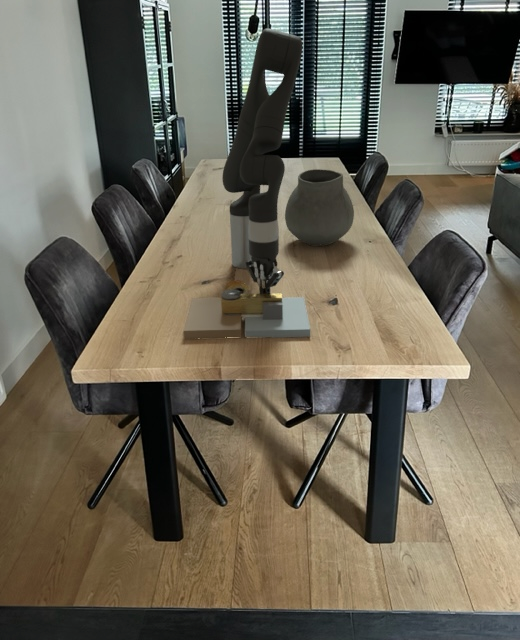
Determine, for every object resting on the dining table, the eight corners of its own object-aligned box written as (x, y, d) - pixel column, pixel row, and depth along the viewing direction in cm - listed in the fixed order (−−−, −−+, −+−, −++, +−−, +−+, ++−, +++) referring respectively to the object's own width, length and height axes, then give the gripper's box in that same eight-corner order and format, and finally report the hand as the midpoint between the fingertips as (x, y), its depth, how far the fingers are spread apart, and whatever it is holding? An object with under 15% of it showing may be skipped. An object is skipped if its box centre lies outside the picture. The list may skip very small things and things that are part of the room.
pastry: (222, 287, 170) (221, 275, 169) (244, 285, 172) (243, 273, 170) (227, 299, 162) (227, 287, 161) (250, 297, 164) (250, 285, 162)
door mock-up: (192, 306, 158) (190, 286, 155) (303, 303, 158) (304, 283, 155) (184, 339, 140) (182, 317, 137) (310, 336, 140) (310, 314, 137)
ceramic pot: (273, 248, 202) (272, 177, 192) (301, 229, 222) (301, 164, 211) (338, 257, 192) (341, 182, 181) (361, 237, 211) (365, 169, 200)
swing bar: (221, 315, 146) (220, 297, 143) (222, 306, 150) (221, 289, 148) (282, 313, 145) (282, 295, 143) (281, 305, 150) (281, 288, 148)
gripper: (292, 239, 140) (292, 303, 148) (258, 227, 149) (259, 288, 157) (269, 246, 136) (270, 311, 144) (235, 233, 145) (238, 295, 153)
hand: (264, 299), depth 150 cm, fingers closed
